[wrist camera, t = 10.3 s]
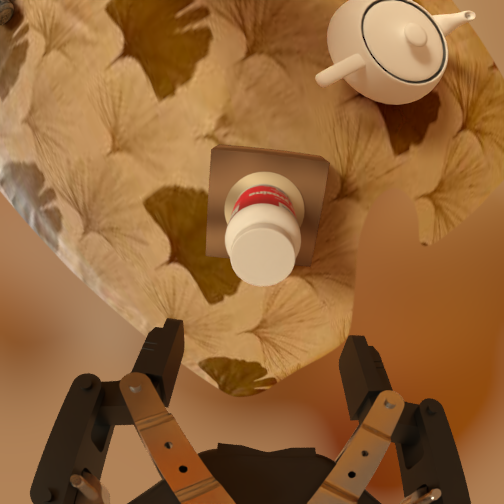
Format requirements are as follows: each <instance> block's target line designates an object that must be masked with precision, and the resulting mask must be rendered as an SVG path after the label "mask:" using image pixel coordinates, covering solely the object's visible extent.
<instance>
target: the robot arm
mask: <svg viewBox="0 0 504 504" xmlns="http://www.w3.org/2000/svg"><path fill="white" fill-rule="evenodd" d="M183 353H184V328H183V320H177V319H170V318H167V319H166V322H165V324H164V327H163V328H159V327H155V328H154V329H153V330H152V331H151V332H149V333H148V336H147V338H146V340H145V343H144V344H143V347H142V349H141V351H140V354H139V356H138V358H137V360H136V363H135V365H134V368H133V370H132V372H131V373H129V374H127V375H126V376H124V377H123V378H122V379H121V380H120V381H113V382H112V381H110V382H101V381H100V379H99V378H98V377H97V376H95V375H93V374H82V375H79V376H78V377H77V378H76V379H75V380H74V381H73V383H72V385H71V387H70V390H69V392H68V394H67V396H66V398H65V400H64V403H63V405H62V407H61V409H60V412H59V414H58V417H57V419H56V421H55V424H54V426H53V429H52V431H51V434H50V436H49V439H48V441H47V444H46V446H45V449H44V451H43V454H42V457H41V460H40V462H39V465H38V468H37V471H36V474H35V477H34V480H33V483H32V486H31V490H30V497H31V500H32V502H33V503H34V504H110V494H109V492H108V490H107V488H106V487H105V486H104V485H103V484H102V483H101V482H100V478H101V474H102V470H103V466H104V462H105V459H106V455H107V451H108V448H109V444H110V440H111V437H112V434H113V430H114V427H115V425H134V426H135V428H136V430H137V432H138V434H139V436H140V438H141V440H142V442H143V444H144V446H145V448H146V450H147V452H148V454H149V456H150V458H151V460H152V462H153V464H154V465H155V468H156V469H157V471H158V473H159V475H160V476H161V478H162V480H161V481H159V482H158V483H157V484H155V485H154V486H152V487H151V488H150V489H148V490H147V491H145V492H144V493H142V494H141V495H140V496H138V497H137V498H135V499H134V500H132V501H131V502H129V503H128V504H381V503H380V502H379V501H378V500H376V499H375V498H374V497H373V496H372V495H371V494H369V493H368V492H367V491H366V490H365V488H366V486H367V484H368V482H369V481H370V479H371V477H372V476H373V474H374V472H375V470H376V468H377V467H378V465H379V463H380V461H381V459H382V458H383V456H384V454H385V452H386V450H387V448H388V446H389V444H390V442H394V443H395V445H396V450H397V455H398V460H399V466H400V471H401V477H402V483H403V490H404V497H405V498H404V499H403V500H402V501H401V503H400V504H471V501H470V497H469V492H468V488H467V484H466V480H465V476H464V472H463V469H462V465H461V461H460V458H459V455H458V451H457V448H456V445H455V442H454V439H453V435H452V432H451V429H450V426H449V423H448V420H447V417H446V415H445V412H444V409H443V407H442V405H441V404H440V403H439V402H438V401H436V400H434V399H425V400H423V401H422V402H421V403H420V405H418V404H413V403H407V402H404V400H403V398H402V397H401V396H400V395H399V394H398V393H396V392H394V391H393V390H392V387H391V385H390V382H389V379H388V376H387V374H386V371H385V369H384V366H383V363H382V360H381V357H380V355H379V353H378V352H377V350H376V349H375V348H374V347H373V346H368V344H367V341H366V339H365V337H364V336H355V335H350V336H348V338H347V341H346V343H345V346H344V349H343V351H342V353H341V356H340V359H339V370H340V374H341V378H342V383H343V387H344V391H345V396H346V401H347V405H348V410H349V415H350V420H359V425H358V427H357V429H356V430H355V432H354V433H353V435H352V436H351V438H350V439H349V441H348V443H347V444H346V445H345V447H344V449H343V450H342V451H341V453H340V454H339V456H338V457H337V458H336V460H335V461H333V460H331V459H329V458H327V457H325V456H322V455H319V454H316V452H315V448H289V449H284V450H279V451H274V452H263V451H259V450H256V449H252V448H249V447H245V446H242V445H231V444H222V443H218V447H217V449H212V450H207V451H204V452H201V453H198V454H197V453H196V452H195V450H194V448H193V447H192V445H191V444H190V442H189V441H188V439H187V438H186V436H185V435H184V433H183V431H182V430H181V428H180V426H179V425H178V423H177V422H176V420H175V418H174V417H173V415H172V414H169V413H168V411H167V410H166V408H165V407H168V406H169V403H170V399H171V396H172V392H173V389H174V385H175V381H176V378H177V374H178V371H179V367H180V364H181V361H182V357H183Z"/></svg>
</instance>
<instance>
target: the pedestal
mask: <svg viewBox="0 0 504 504" xmlns="http://www.w3.org/2000/svg"><path fill="white" fill-rule="evenodd" d="M328 169H329V162H328V161H327V160H325V159H324V158H323V157H321V156H317V155H310V154H303V153H296V152H288V151H280V150H272V149H263V148H253V147H243V146H231V145H217V146H216V147H214V148H213V149H211V162H210V178H209V195H208V215H207V238H206V256H213V257H222V258H230V257H229V255H228V253H227V250H226V246H225V233H226V229H227V226H228V223H229V220H230V217H231V214H232V211H233V208H234V206H235V203H236V201H237V199H238V197H239V196H240V194H241V193H242V192H243V191H244V190H246V189H247V188H249V187H251V186H253V185H256V184H270V185H274V186H276V187H278V188H280V189H282V190H283V191H284V192H285V193H286V194H287V195H288V196H289V198H290V200H291V202H292V204H293V208H294V211H295V215H296V218H297V222H298V225H299V229H300V234H301V246H300V250H299V253H298V255H297V257H296V259H295V264H294V265H299V266H309V267H310V266H311V262H312V257H313V252H314V247H315V242H316V237H317V232H318V226H319V221H320V216H321V210H322V205H323V199H324V193H325V187H326V182H327V175H328Z"/></svg>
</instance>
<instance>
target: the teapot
mask: <svg viewBox="0 0 504 504" xmlns="http://www.w3.org/2000/svg"><path fill="white" fill-rule="evenodd" d="M475 17H476V15H475V13H474V12H472V11H463V12H460V13H455V14H445V15H434V16H432V15H431V14H430V13H429V12H428V11H427V10H425V9H424V8H423V7H421V6H420V5H419V4H417V3H415V2H414V1H412V0H349V1H347V2H345V3H344V4H343V5H342V6H341V7H340V8H338V9H337V10H336V11H335V13H334V15H333V16H332V18H331V20H330V23H329V26H328V30H327V44H328V51H329V53H330V56H331V59H332V62H333V63H334V65H332V66H330V67H329V68H327V69H325V70H323V71H321V72H320V73H318V74H317V75H316V77H315V79H316V82H317V83H318V85H319V86H321V87H327V86H329V85H331V84H333V83H335V82H337V81H339V80H340V79H342V78H344V80H345V81H346V82H347V83H348V84H349V85H350V86H351V87H352V88H354V89H355V90H356V91H358V92H359V93H361V94H362V95H364V96H365V97H367V98H370V99H372V100H374V101H377V102H381V103H385V104H393V105H399V104H406V103H411V102H413V101H416V100H419V99H421V98H422V97H424V96H425V95H427V94H428V93H429V92H431V91H432V90H433V88H434V87H435V86H436V85H437V84H438V82H439V81H440V79H441V77H442V75H443V73H444V71H445V69H446V67H447V62H448V47H447V42H446V39H445V37H446V36H447V35H449V34H450V33H451V32H452V31H454V30H455V29H456V28H458V27H459V26H461V25H463V24H464V23H467V22H469V21H471V20H473V19H474V18H475ZM363 35H364V38H365V41H366V43H367V46H368V48H369V50H370V51H371V53H372V55H373V56H374V57H375V59H376V60H377V61H378V63H379V64H380V65H382V66H383V67H384V68H385V69H386V70H387V71H384V70H383V69H382V68H381V67H380V66H379V65H378V64H377V63H376V61H375V60H374V59H373V57H372V56H371V55H370V53H369V51H368V49H367V47H366V45H365V42H364V40H363V37H362V36H363Z"/></svg>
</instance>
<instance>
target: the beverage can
mask: <svg viewBox="0 0 504 504" xmlns="http://www.w3.org/2000/svg"><path fill="white" fill-rule="evenodd" d="M13 12H14V6H13V4H12V3H11V2H10V1H9V0H0V25H2V24H5V23H6V22H7V21H8V20H10V18H11V17H12V14H13Z"/></svg>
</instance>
